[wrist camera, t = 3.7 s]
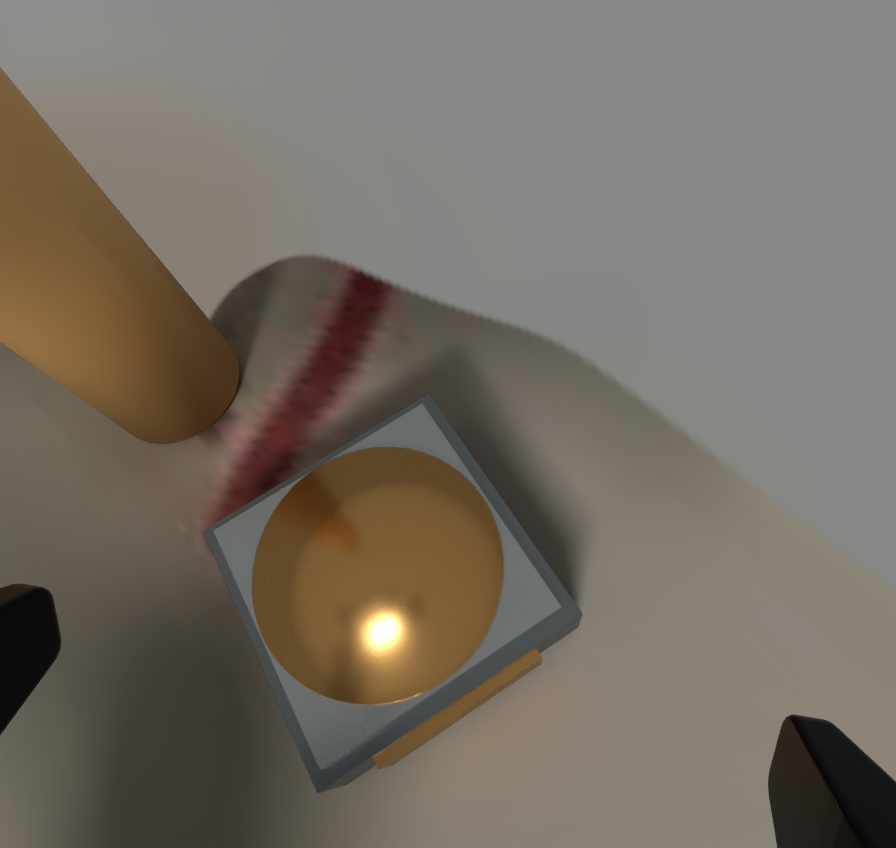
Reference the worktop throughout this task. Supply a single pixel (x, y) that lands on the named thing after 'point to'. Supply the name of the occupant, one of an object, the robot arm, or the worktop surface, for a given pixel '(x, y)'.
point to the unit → (387, 593)
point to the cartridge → (98, 294)
